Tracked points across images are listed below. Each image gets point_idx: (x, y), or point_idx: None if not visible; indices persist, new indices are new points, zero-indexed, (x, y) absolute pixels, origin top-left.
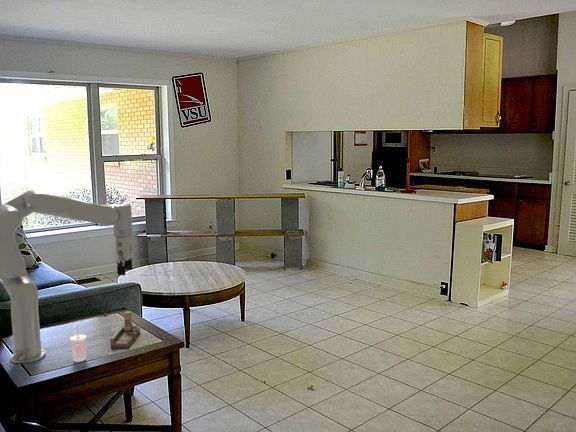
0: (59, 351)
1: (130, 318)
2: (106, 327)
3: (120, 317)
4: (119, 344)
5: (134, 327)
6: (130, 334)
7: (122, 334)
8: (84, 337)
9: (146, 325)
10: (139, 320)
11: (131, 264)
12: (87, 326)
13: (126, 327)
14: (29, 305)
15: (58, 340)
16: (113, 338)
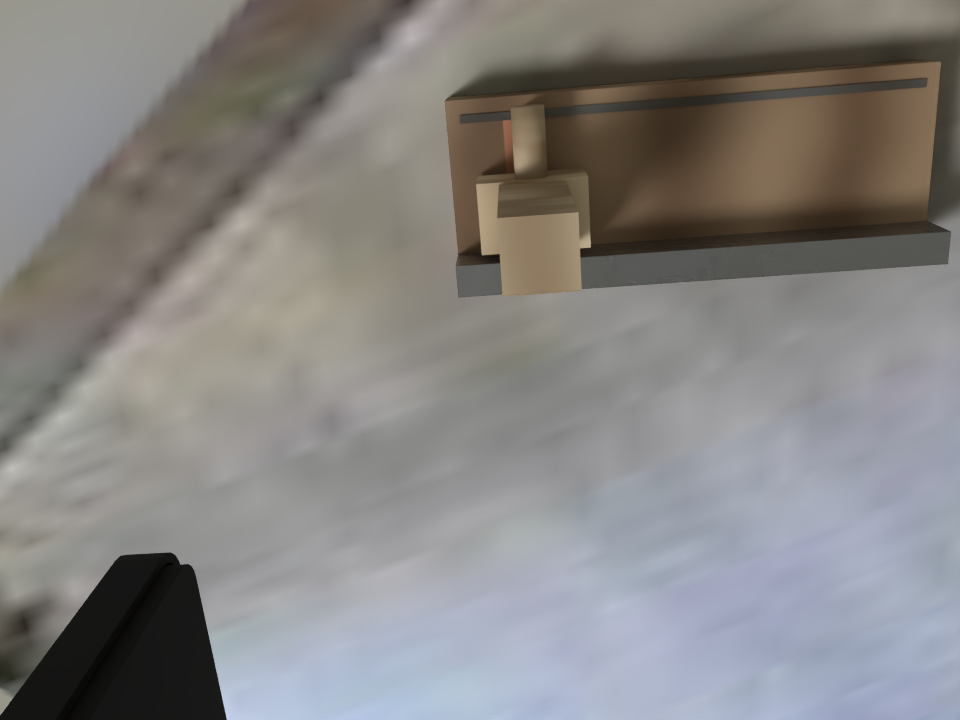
0: (938, 638)
1: (540, 198)
2: (348, 490)
3: (49, 466)
4: (927, 153)
5: (544, 131)
6: (662, 132)
7: (664, 223)
8: None
9: (230, 98)
10: (91, 238)
11: (80, 688)
12: (344, 657)
13: (589, 215)
14: None
15: None
16: (937, 232)
